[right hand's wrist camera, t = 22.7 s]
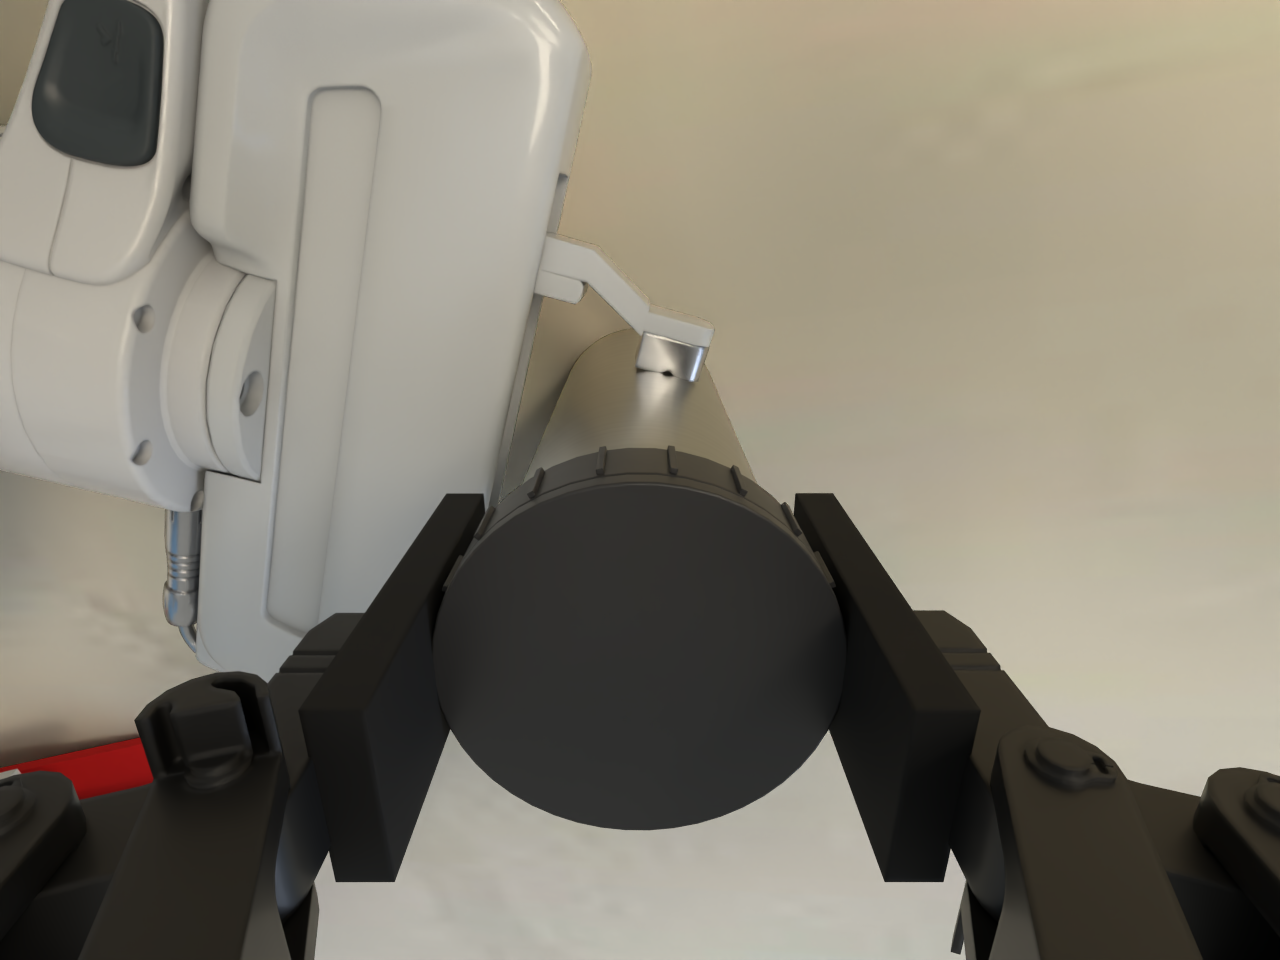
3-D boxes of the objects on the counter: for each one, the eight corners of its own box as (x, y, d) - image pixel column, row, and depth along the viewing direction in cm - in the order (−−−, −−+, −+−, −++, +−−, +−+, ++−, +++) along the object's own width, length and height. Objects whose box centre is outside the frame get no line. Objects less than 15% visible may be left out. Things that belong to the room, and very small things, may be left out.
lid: (377, 632, 12) (341, 688, 11) (622, 356, 10) (620, 379, 9) (650, 819, 14) (652, 890, 12) (904, 607, 12) (940, 661, 11)
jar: (545, 449, 26) (439, 721, 12) (590, 306, 24) (522, 434, 10) (684, 493, 27) (733, 799, 13) (737, 357, 25) (863, 543, 11)
